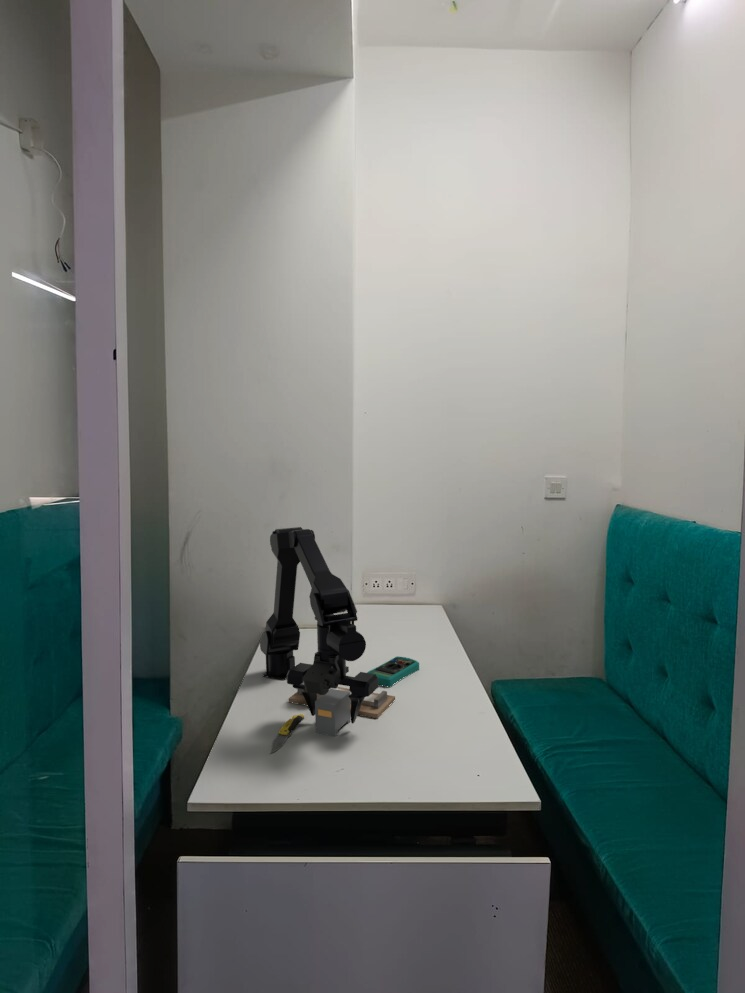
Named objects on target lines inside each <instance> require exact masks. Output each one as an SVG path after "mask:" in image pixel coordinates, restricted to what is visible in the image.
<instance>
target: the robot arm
mask: <svg viewBox="0 0 745 993" xmlns="http://www.w3.org/2000/svg"><path fill="white" fill-rule="evenodd" d="M269 542H270V543H269V544H270V547H271V551H272V554H273V555H274V557H275V559H276V562H277V563H276V576H275V577H276V579H275V589H274V590H275V591H274V606H273V613H272V614H271V615H270V616H269V617H268V619H267V621H266V622H265V628H264V631H263V632H262V633H263V634H262V636H261V638H260V641H259V646H260V647H259V648H260V652H262V653H263V654H264V655H265V670H266V672H263V673H262V676H263V675H264V676H263V677H265V676H268V677H267V678H271V677H273V679H277V678H278V680H283V679H284V680H286V683H287V684H288V685H292V688H293V689H296V690H297V689H298V690H299V691H300V692H301V693H302V694H303V696H304V698H305V700H306V703H307V705H308V706H307V708H308V710H309V713H310V715H311V716H312V717H314V716H315V701H316V700H317V694H319V695H325V694H327V693H328V691H329V689H330V688H334V689H336V688H337V686H338V687H339V685H340V686H345V687H349V689H350V692H351V694H350V695H349V698H350V700H351V714H350V723H351V724H354V723H355V722H356V719H357V717H358V716H359V715H358V712H359V710H360V707H361V705H362V702H363V700H364V698H365V697H367V696H369V695H371V694H372V693H375V691H376V690H377V689H378V688H379V687H380V685H379V679H378V677H377V676H376V674H371V673H367V672H365V671H364V672H363V671H359V672H358V673H357V674H356V675H355V676H350V675H347V674H348V673H349V671H350V670H349V669H350V668H349V666H347V662H355V661H357V660H358V659H360V658H361V657H362V656H363V655H364V654H365V652H366V648H367V644H366V643H367V642H366V640H365V637H364V636H363V635H362V634H361V633H360V632H359V631H358V630H357V626H356V625H355V624H354V623H352V622H357V621H358V616H357V613H358V610H357V607H356V605H355V603H354V599H353V597H352V595H351V593H350V590H349V589H348V588H347V586H346V585H345V583H344V581H343V580H342V579H341V578H340V577H338V576H336V575H335V574H333V573H332V572H331V570H330V568H329V567H328V564H327V562H326V560H325V558H324V556H323V554H322V552H321V549H320V547H319V545H318V543H317V541H316V535H315V532H314V530H313V529H309V528H305V529H304V528H302V527H301V526H297V527H287V528H286V527H285V528H275V530H273V531H272V533H271V534H270V536H269ZM299 564H301V566H302V569H303V571H304V574H305V576H306V578H307V579H308V580H307V581H308V582H309V584H310V585H309V586H310V587H311V589H310V593H309V604H310V608H311V610H312V612H313V615H314V620H315V621H317V622H316V633H317V635H316V637H317V639H316V640H317V641H316V642H317V652H315V653H314V657H313V665H312V664H311V663H304V662H299V663H298V664H296V657H295V656H294V651H298V650H299V646H300V637H301V631H300V628H299V625H298V624H297V622H296V621H295V619H294V608H295V596H296V586H297V585H296V584H297V582H296V581H297V575H298V574H297V573H298V565H299ZM346 612H347V613H346ZM346 661H347V662H346ZM298 690H297V691H298Z"/></svg>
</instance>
